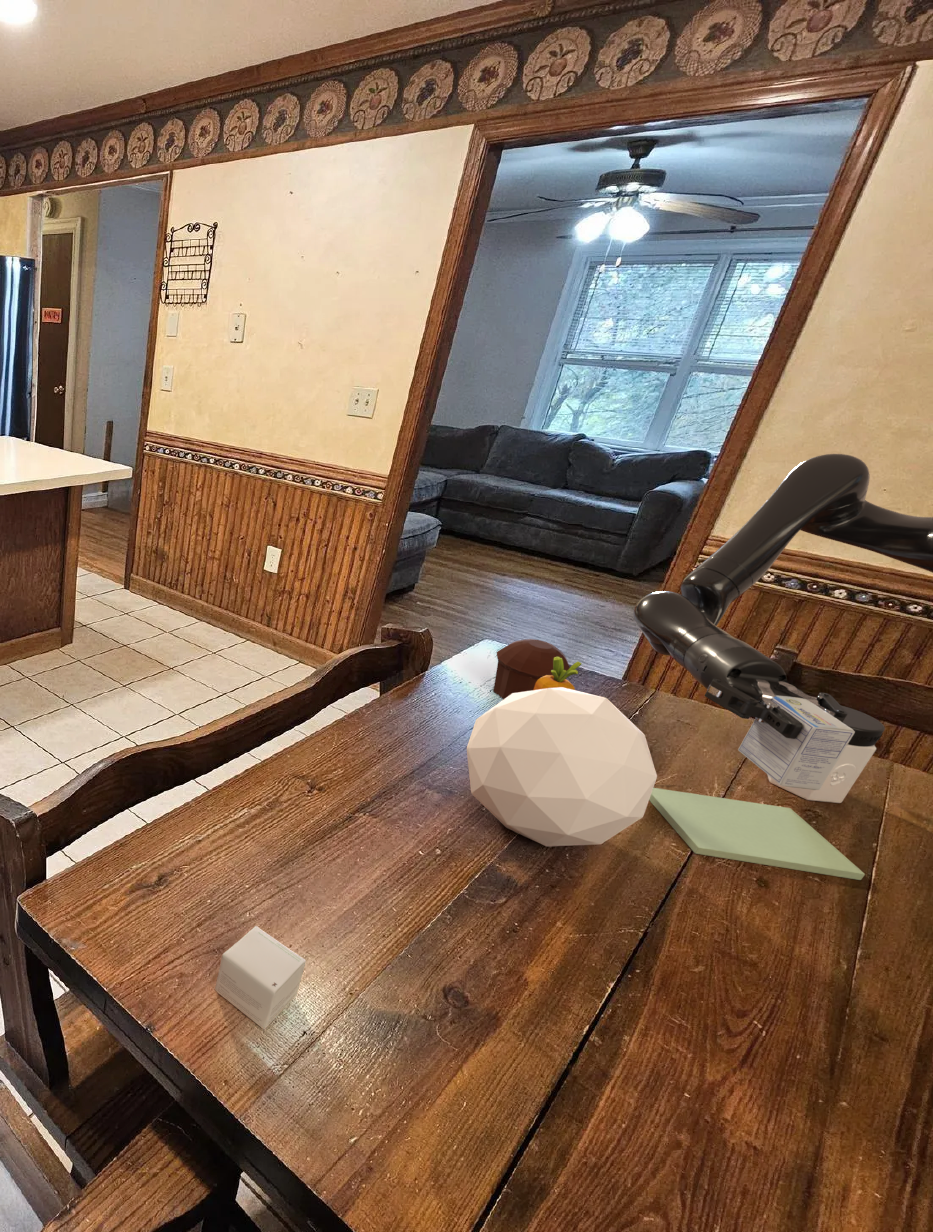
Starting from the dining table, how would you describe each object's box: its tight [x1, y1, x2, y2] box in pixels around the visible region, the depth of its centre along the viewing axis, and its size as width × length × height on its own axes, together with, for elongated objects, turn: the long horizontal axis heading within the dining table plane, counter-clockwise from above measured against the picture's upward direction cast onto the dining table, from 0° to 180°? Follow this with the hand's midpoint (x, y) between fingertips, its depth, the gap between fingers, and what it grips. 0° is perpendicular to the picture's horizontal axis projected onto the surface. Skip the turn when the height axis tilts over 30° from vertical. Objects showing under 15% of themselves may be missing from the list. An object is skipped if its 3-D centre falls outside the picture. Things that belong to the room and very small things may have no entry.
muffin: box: [492, 638, 571, 700], centre depth 123 cm, size 12×11×10 cm
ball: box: [466, 687, 658, 847], centre depth 89 cm, size 19×20×20 cm
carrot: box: [533, 657, 583, 690], centre depth 108 cm, size 5×5×15 cm
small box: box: [214, 925, 307, 1030], centre depth 66 cm, size 6×6×5 cm
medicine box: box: [737, 696, 855, 790], centre depth 88 cm, size 8×4×9 cm, turn 171°
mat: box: [649, 787, 866, 881], centre depth 94 cm, size 18×13×1 cm
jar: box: [766, 705, 886, 804], centre depth 102 cm, size 9×8×12 cm
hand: (820, 735), depth 85 cm, fingers closed on medicine box, 4 cm apart
